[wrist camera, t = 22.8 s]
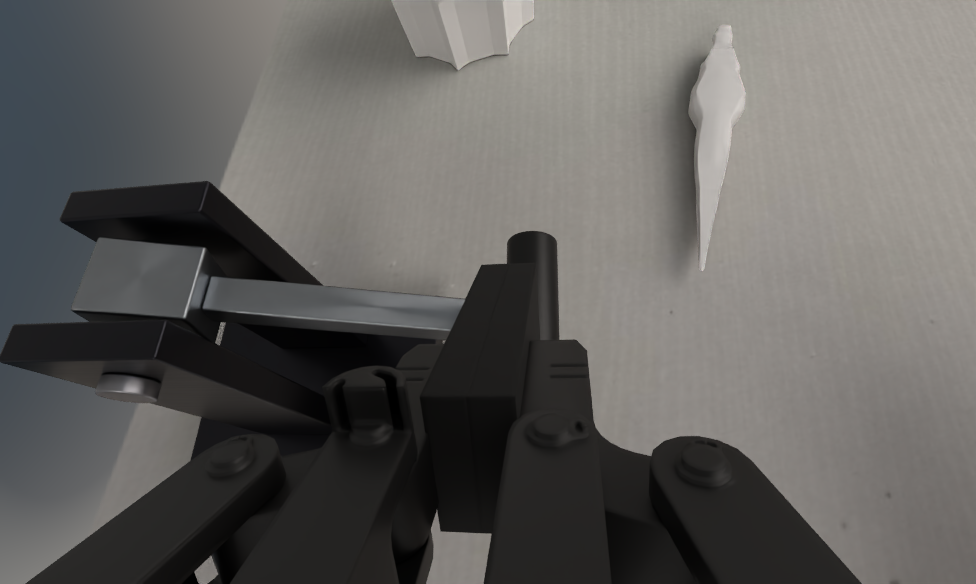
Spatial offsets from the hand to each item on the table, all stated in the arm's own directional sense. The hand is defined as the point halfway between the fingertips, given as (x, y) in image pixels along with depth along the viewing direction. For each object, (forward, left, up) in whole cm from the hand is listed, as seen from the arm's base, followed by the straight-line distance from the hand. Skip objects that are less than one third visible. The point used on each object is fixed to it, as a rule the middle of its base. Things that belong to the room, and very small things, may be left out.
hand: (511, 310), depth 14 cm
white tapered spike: (+11, -11, -10) cm, 18 cm away
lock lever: (+1, +5, -1) cm, 6 cm away
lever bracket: (+2, +10, -10) cm, 14 cm away
